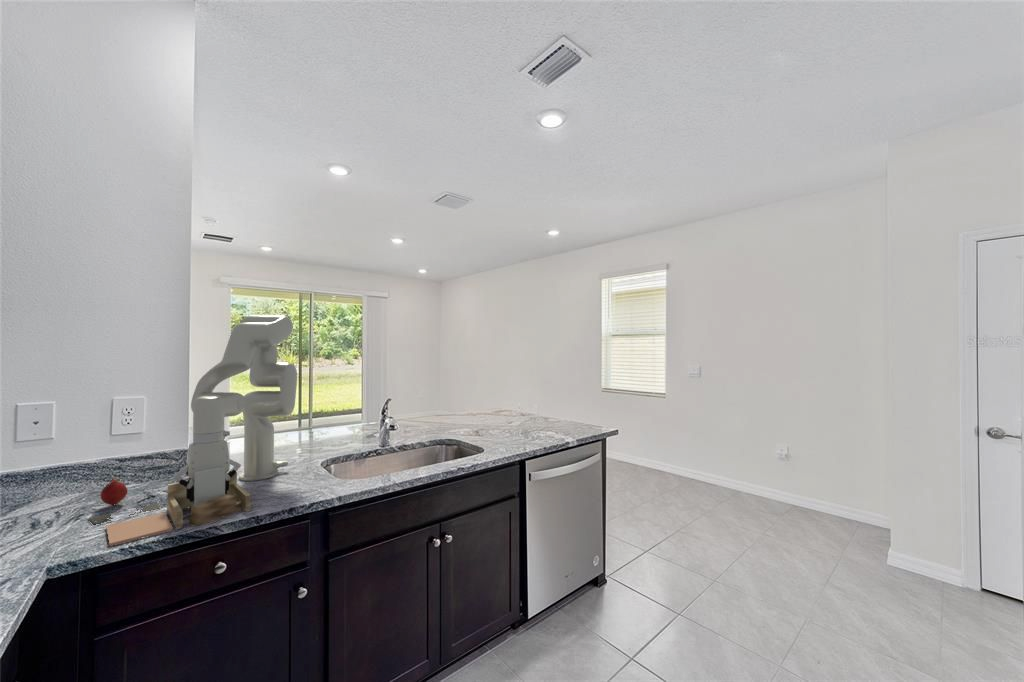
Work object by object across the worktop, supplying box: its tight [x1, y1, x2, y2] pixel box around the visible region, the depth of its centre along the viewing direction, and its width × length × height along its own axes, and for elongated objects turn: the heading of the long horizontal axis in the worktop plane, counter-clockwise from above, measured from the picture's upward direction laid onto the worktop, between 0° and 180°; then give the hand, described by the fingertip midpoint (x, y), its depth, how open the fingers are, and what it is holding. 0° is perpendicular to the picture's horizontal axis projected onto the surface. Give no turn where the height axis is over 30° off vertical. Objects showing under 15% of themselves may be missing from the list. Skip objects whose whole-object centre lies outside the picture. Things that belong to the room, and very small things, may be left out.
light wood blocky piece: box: [166, 471, 252, 530], centre depth 122 cm, size 17×16×8 cm
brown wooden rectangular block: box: [188, 494, 243, 527], centre depth 118 cm, size 12×4×5 cm, turn 154°
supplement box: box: [191, 467, 225, 506], centre depth 123 cm, size 7×7×13 cm
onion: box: [100, 478, 129, 506], centre depth 125 cm, size 6×6×8 cm
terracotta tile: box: [105, 512, 174, 548], centre depth 109 cm, size 12×14×1 cm
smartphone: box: [87, 502, 163, 525], centre depth 119 cm, size 7×1×15 cm
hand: (208, 496), depth 123 cm, fingers closed on supplement box, 7 cm apart
